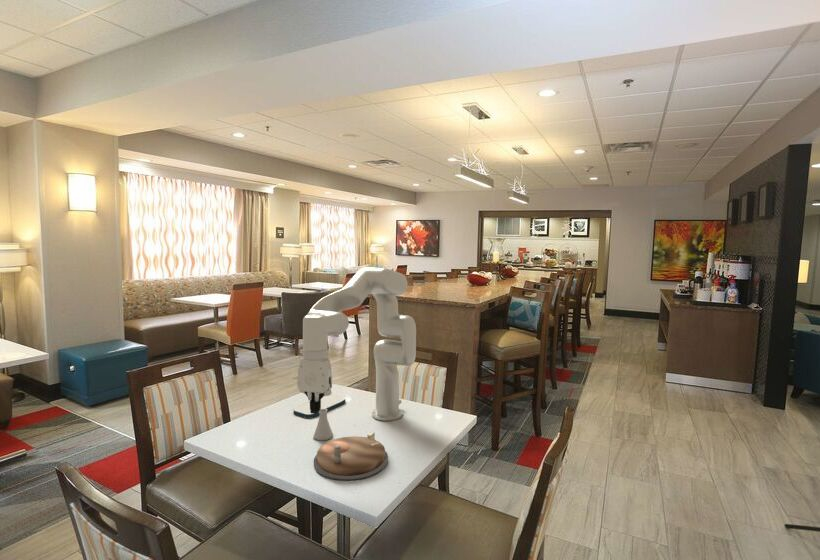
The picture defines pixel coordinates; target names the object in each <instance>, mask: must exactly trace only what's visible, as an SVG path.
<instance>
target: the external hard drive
mask: <svg viewBox="0 0 820 560" xmlns="http://www.w3.org/2000/svg"><path fill="white" fill-rule="evenodd" d="M345 403H346V398H345V397H343V396H339V395H335V394H331V395H329V396H324V397H323V398H322V399H321V409H327V412H330V411H331V410H333V409H337V408H338V407H340V406H343V405H344V404H345ZM293 414H294V415H296V416H297V417H302V418H304V417H305V418H304V419H313V418H316V417H318V415H319V412H318V413H316V414H314V413H310V401H308V402H306V403H304V404H302V405H299V406H297V407H295V408H294V409H293ZM312 417H313V418H312Z"/></svg>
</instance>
